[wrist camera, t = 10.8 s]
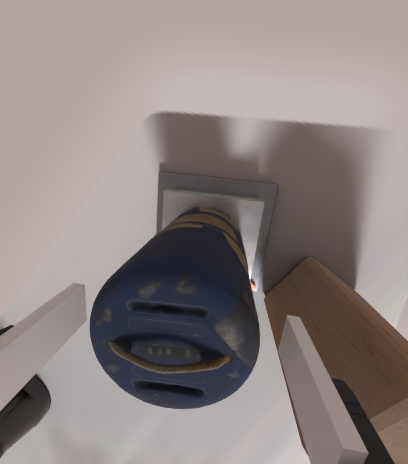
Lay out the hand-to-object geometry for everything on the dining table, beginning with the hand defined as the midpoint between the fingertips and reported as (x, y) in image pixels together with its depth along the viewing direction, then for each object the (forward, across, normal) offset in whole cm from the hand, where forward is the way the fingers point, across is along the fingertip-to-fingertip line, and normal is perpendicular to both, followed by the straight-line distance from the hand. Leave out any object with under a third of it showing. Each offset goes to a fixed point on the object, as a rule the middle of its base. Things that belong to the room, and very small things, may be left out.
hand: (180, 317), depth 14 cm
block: (+19, +16, -7) cm, 26 cm away
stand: (+19, +1, 0) cm, 19 cm away
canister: (+14, 0, 0) cm, 14 cm away
